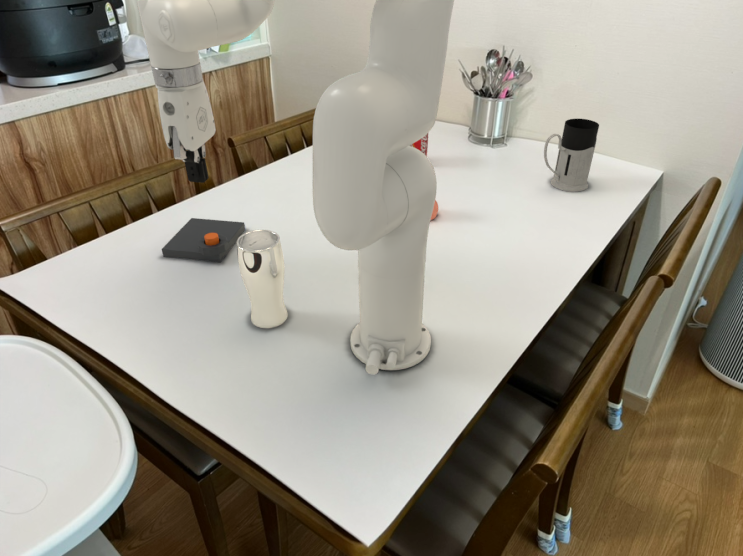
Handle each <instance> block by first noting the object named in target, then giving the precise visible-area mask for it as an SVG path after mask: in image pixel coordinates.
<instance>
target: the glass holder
mask: <svg viewBox="0 0 743 556" xmlns="http://www.w3.org/2000/svg"><path fill="white" fill-rule="evenodd" d="M599 129H600V124H599V123H598V122H597V121H595V120H591V119H586V118H570V119H569V118H568V119H567V120H565V121H564V126H563V131H562V135H560V134H558V133H552V134H550V135H549V137H548V138H547V139H546V141H545V143H544V148H543V159H544V163H545V166H546V167H547V168H548V169H549V170H550V171H551V172H552V173H553V177H552V178H551V179H550V184H551V185H552V187H554V188H555V189H557V190H561V191H564V192H573V193H574V192H575V193H576V192H582V191H583V192H584V191H586V190H587V189H588V188H589V183H588V180H589V176H590V171H591V166H592V162H593V158H594V154H595V149H596V145H597V140H598V133H599ZM554 137H557V138H558V145H557V146H558V147H557V149H558V153H557V158H556V163H555V168H554V169H553V168H552V167H551V165H550V164H549V161H548V146H549V143H550V141H551V140H552V139H553V138H554Z"/></svg>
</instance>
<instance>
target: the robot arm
mask: <svg viewBox="0 0 743 556" xmlns="http://www.w3.org/2000/svg"><path fill="white" fill-rule="evenodd" d="M275 2H276V1H275V0H136V5H137V9H138V13H139V18H140V23H141V27H142V32H143V36H144V40H145V45H146V50H147V53H148V59H149V64H150V68H151V72H152V76H153V82H154V85H155V88H156V89H157V101H158V102H157V103H158V111H159V118H160V123H161V128H162V134H163V137H164V141H165V144H166V146H167V148H168V149H169V150H172V151H173V158H174V159H175V160H181V161H182V162H183V163H184V167H185V171H186V175H187V180H188V181H189V182H190V183H200V184H201V183H203V184H204V183H205V182H207V181H208V180H209V172H208V168H207V162H206V156H207V154H206V143H207V142H208V141H209V140H211V138H212V137H214V135H215V134H216V132H217V131H216V130H217V129H216V128H217V127H216V122H215V118H214V113H213V109H212V104H211V100H210V96H209V93H208V90H207V86H206V84H205V81H204V77H203V71H202V66H201V61H200V60H201V59H200V54H199V53H200V52H199V51H202V50H203V51H204V50H207V49H210V48H214V47H219V46H224V45H229V44H233V43H238V42H240V41H242V40H245V39H246V38H248V37H250V35H252V34H253V33H254V32H255V31H256V30H257V29H258V28H259V27H260V26H261V25H262V24H264V22H265V21H266V20H267V19H268V18H269V16H270V15H271V14H272V12H273V10H274V6H275ZM454 4H455V0H375V2H374V5H373V8H372V13H371V18H370V24H369V46H368V53H367V54H368V55H367V60H366V63H365V66H364V67H363V69H362V70H359V71H357V72H353V73H350V74H348V75H344V76H343V77H340V78H338V79H337V80H335V81H334V82H332V83H331V84H330V85H329V86H327V88H326V89H325V90H324V91H323V92H322V94H321V96H320V98H319V100H318V102H317V103H316V104H317V105H316V107H315V111H314V115H313V122H312V206H313V213H314V217H315V220H316V223H317V226H318V228H319V230H320V232H321V233H322V235H323V236H324V238H325V239H326V240H327V241H328V242H329V243H330V244H331V245H332V246H334V247H336V248H337V249H339V250H344V251H357V275H358V277H357V279H358V308H359V309H358V311H359V312H358V313H359V322H358V323H357V324H356V325H355V326H354V327H353V328H352V331H351V333H350V336H349V337H350V338H349V339H350V341H349V343H350V349H351V351H352V353H353V354H354V356H355V358H356V359H358V360H359V361H360V362H361V363H363V364H365V368H364V369H365V372H366V373H368V374H369V375H373V376H374V375H377V374H378V373H379V370H383V371H384V370H385V371H399V370H405V369H408V368H411V367H414V366H416V365H417V364H419V363H421V362H422V361H424V359H426V358H427V356H428V355H429V353H430V351H431V346H432V336H431V333H430V331H429V329H428V327H427V326H426V325H424V323H423V311H424V294H425V293H424V292H425V277H426V275H425V274H426V262H427V247H428V237H429V229H430V224H431V223H430V222H431V221H432V220H431V216H432V212H433V208H434V203H435V200H436V199H437V198H436V197H437V190H438V186H437V185H438V182H437V175H436V172H435V171H436V170H435V168H434V166H433V164H432V162H431V160H430V159H429V157H428V155H427V156H426V155H425V154H424V153H422V152H421V151H420V150H418V149H416V148H414V147H411V146H409V145H411V144H413V143H415V142H417V141H418V140H420V139H421V138H423V137H424V136H425V135H427V134H428V135H429V133H430V131H431V130H432V129H433V127H434V126H435V123H436V120H437V117H438V112H439V105H440V99H441V92H442V85H443V79H444V71H445V66H446V58H447V51H448V43H449V34H450V27H451V19H452V14H453V9H454Z"/></svg>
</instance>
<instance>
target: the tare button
mask: <svg viewBox="0 0 743 556" xmlns="http://www.w3.org/2000/svg"><path fill="white" fill-rule="evenodd" d="M204 238H205V243H206V245H210V246H212V245H216V244H218V243H219V237H218V234H217V233H208V234H206V235H205V236H204Z"/></svg>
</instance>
